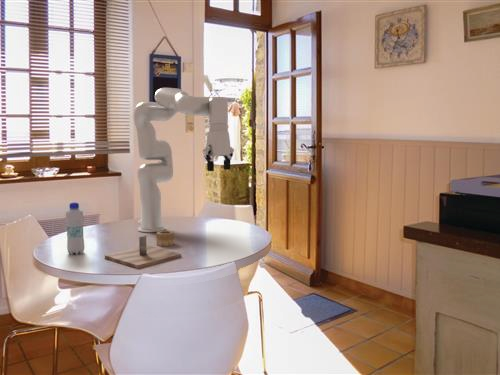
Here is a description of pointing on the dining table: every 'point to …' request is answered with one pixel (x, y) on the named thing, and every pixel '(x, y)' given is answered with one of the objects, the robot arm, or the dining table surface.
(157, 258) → the post board
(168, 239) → the collar
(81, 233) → the bottle
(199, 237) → the dining table surface
